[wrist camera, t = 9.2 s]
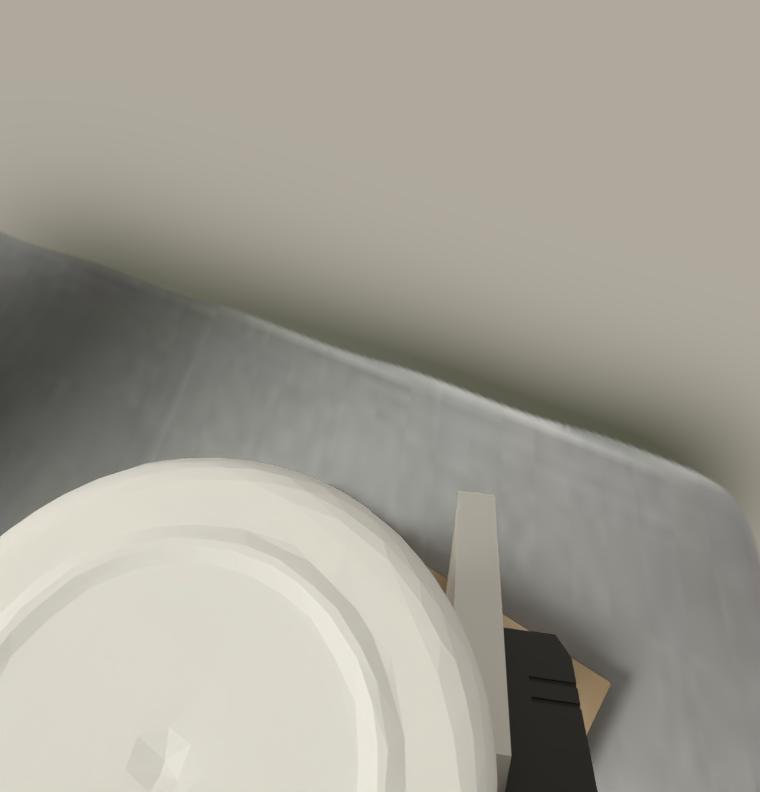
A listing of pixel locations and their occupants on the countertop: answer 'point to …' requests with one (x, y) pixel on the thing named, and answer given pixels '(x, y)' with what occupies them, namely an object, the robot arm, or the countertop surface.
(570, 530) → the countertop surface
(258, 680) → the sprinkles bottle
